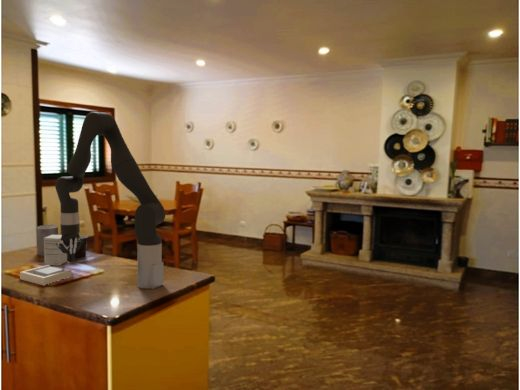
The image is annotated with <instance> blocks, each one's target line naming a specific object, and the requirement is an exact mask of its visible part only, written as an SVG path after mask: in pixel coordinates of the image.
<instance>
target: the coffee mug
mask: <svg viewBox="0 0 520 390" xmlns="http://www.w3.org/2000/svg"><path fill="white" fill-rule="evenodd" d="M79 235H80V238H82V239H84V242H83V244H82V245H81V247H80V249H79V251H76V252H75V260H76V259H77V260H79V259H84V258H86V257H87V256H86V255H87V247H88V235H83V234H79ZM77 247H78V246H77Z"/></svg>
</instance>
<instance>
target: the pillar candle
mask: <svg viewBox="0 0 520 390" xmlns="http://www.w3.org/2000/svg"><path fill="white" fill-rule="evenodd" d="M50 235H59V226H58V225H57V224H49V223H47V224H43V225H39V226H36V245H37V246H36V247H37V255H38V256H43V257H44V238H45V237H48V236H50Z"/></svg>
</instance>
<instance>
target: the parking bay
mask: <svg viewBox="0 0 520 390" xmlns="http://www.w3.org/2000/svg"><path fill="white" fill-rule="evenodd" d="M47 267H51V265H45V264H44V265H42V266H38V267H34V268H30V269H26V270H22V271H20V272H19V278H20V280H22V281H25V282H29V283H33V284H36V285H40V286H47V285H46V284H48V285H50V284H49V283H51V284H53V283H52V282H54V283H56V282H55V281H57V282H59V281H58V280H61V279H64V278H67V277H71V276H72V270H71V269H68V270H67V269H66V270H63V272H60V273H56V274H53V275H49V276H46V277H43V276H39V275H35V270H39V269H43V268H47ZM72 277H73V276H72ZM72 277H71V278H72ZM67 279H68V278H67ZM64 280H65V279H64ZM61 281H62V280H61Z"/></svg>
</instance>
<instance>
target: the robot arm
mask: <svg viewBox="0 0 520 390" xmlns="http://www.w3.org/2000/svg"><path fill="white" fill-rule="evenodd" d="M81 126H82V127H81V130H80V133H79V137H78V140H77V144H76V148H75V150H74V153H73V155H72V157H71V159H70V162H69V163H68V165H67V168H66V170H67V172H68V174H69V175H70V176H61V177H58V178H57V179H56V180H55V183H54V184H55V190H56V193H57V197H58V200H59V203H60V216H59V217H60V218H59V220H60V221H59V223H60V227H59V228H60V235H62V237H61V241H60V242H59V243H56V245H57V247H58V248H59V249H60V250H61V251H62V252H63V253H66V254H67V262H68V263H74V262H75V260H76V259H75V252H76V251H79V249H80V247H81V245H82V244H83V242H84V239H82V238H80V235H81V234H80V230H81V228H80V212H79V200H78V199H77V198H73V197H72V196H71V195H70V194H71V193H73V194H74V193H79V192H80V190H81V189H82V188H83V185H84V178H85V173H86V171H87V169H89V166H90V163H91V160H92V151H91V149H92V148H91V147H92V143H93V141H94V140H95V138H97V136H103V137H104V139H105V140H106V142H107V143H108V146H109V149H110V165H111V167H112V170H113V172H114V174H115V175H116V178H117V179H118V180H119V182H120V183H121V184H122V185H123V186H124V187H125V188H126V189H127V190H129V192H131V193H132V194H133V195H134V196H135V197H136V198H137V200H138V202H139V203H140V205H138V206H137V207H136V208H135V209H136V210H135V212H134V231H135V237H136V239H137V287H138V288H140V289H147V290H148V289H151V290H154V289H157V288H159V287H162V286H164V261H162V249H163V247H162V244H163V243H162V242H163V241H162V240H163V239H162V236H161V235H160V234H158V233H157V232H158V231H157V225H160V224H162V223H163V222H164V221H165V219H166V210H165V208H164V205H163V204H162V203H161V201H160V199H158V196H157V195H156V194H155V193H154V191H153V190H152V188H151V186H150V185H149V183H148V182H147V179H146V178H145V176H144V174H143V173H142V171H141V169H140V167H139V164H138V162H137V161H136V159H135V158H134V156H133V155H132V152H131V151H130V149H129V147H128V145H127V143H126V142H125V139H124V137H123V135H122V133H121V130H120V128H119V125H118V123H117V121H116V119H115V117H114V116H113V115H112V114H111V113H109V112H102V111H101V112H100V111H99V112H98V111H91V112H88V113H87V114H86V115H85V117H84V119H83V122H82V124H81ZM64 245H65V247H64ZM77 246H78V247H77ZM161 285H162V286H161Z"/></svg>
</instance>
